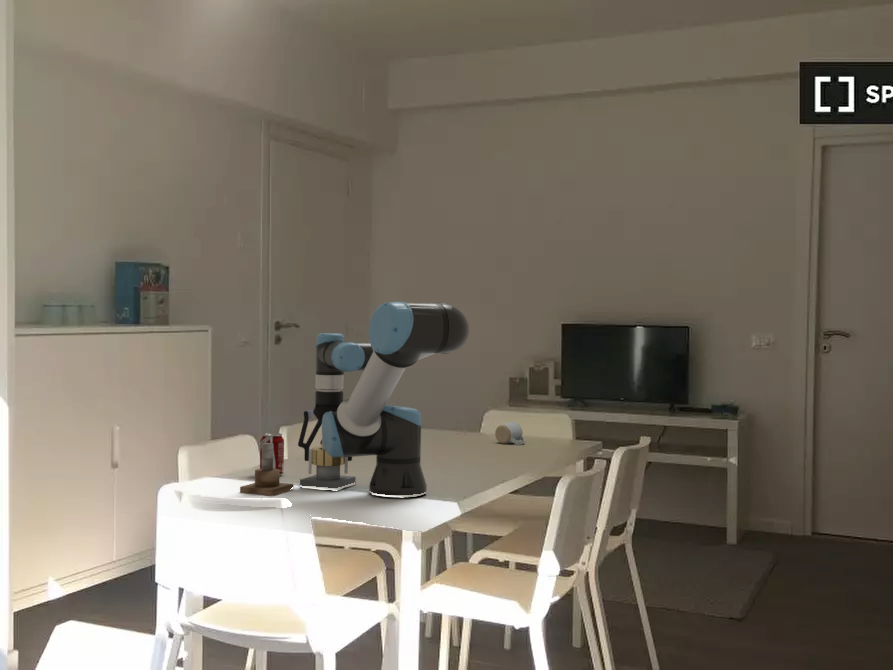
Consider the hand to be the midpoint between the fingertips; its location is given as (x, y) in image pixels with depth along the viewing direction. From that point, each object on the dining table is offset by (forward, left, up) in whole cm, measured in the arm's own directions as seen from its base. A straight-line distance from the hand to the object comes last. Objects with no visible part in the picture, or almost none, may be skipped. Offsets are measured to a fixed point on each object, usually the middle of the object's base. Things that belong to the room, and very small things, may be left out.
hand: (328, 472), depth 265 cm
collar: (0, 0, +3) cm, 3 cm away
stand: (+11, +13, -4) cm, 17 cm away
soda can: (+23, -8, -4) cm, 25 cm away
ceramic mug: (-16, -110, -4) cm, 111 cm away
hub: (0, 0, -4) cm, 4 cm away
